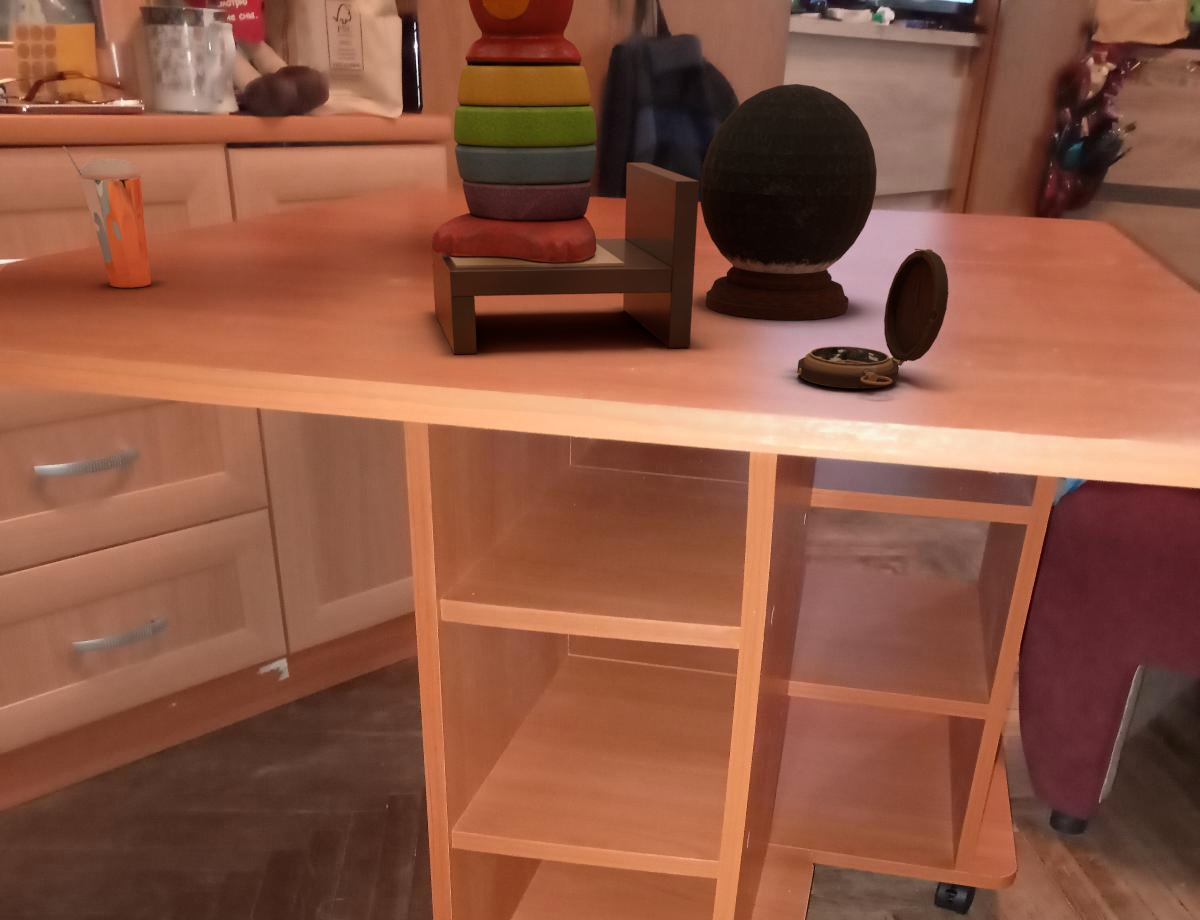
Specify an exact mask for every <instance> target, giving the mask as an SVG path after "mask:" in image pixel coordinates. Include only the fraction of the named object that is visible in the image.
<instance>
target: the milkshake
mask: <svg viewBox="0 0 1200 920" xmlns="http://www.w3.org/2000/svg"><path fill="white" fill-rule="evenodd" d="M62 148H63V150H64V151H65V153H66V155H67V156H68V158H69V159H70V161H71V163H72V164H73V166H74V169H75V170H76V171H77V174H78V177H79V181H80V185H81V187H82V191H83V194H84V197H85V201H86V204H87V208H88V211H89V213H90V216H91V219H92V223H93V225H94V229H95V233H96V237H97V240H98V243H99V247H100V252H101V254H102V255H101V256H102V258H103V262H104V266H105V269H106V270H105V271H106V274H107V277H108V281H109V285H110V286H111V287H112V288H113V287H114V288H118V289H119V288H120V289H121V288H122V289H126V288H127V289H131V288H133V289H134V288H142V287H143V288H144V287H147V286H150V285H152V279H151V269H150V261H149V254H148V244H147V235H146V226H145V213H144V200H143V188H142V178H141V172H140V170H139V168H138V167H137V166H136V165H135V164H134V163H132V162H131V161H130V160H127V159H124V158H113V157H108V158H102V157H96V158H94V159H93V160H90V161H87V162H85V163H83V164H82V166H80V168H79V167H78V166H77V164H76V162H75V161H74V159H73V157H72V156H71V153H70V152H69V150H68V148H67V147H66V146H64V145H63V146H62Z"/></svg>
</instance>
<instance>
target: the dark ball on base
mask: <svg viewBox="0 0 1200 920" xmlns="http://www.w3.org/2000/svg"><path fill="white" fill-rule="evenodd" d="M877 172H878V170H877V162H876V156H875V150H874V147H873V144H872V141H871V138H870V135H869V132H868V130H867V129H866V127H865V125H864V124H863V122H862V120H861V119H860V117H859V116H858V115H857V113H855V112H854V110H852V108H851V107H850V106H849V105H848V104H847V103H846V102H845V101H843V100H842V99H841V98H839V97H838V96H836V95H835V94H833V93H832V92H829V91H827V90H824V89H821V88H819V87H817V86H814V85H807V84H801V83H795V84H794V83H791V84H780V85H775V86H772V87H769V88H767V89H763V90H761V91H759V92H757V93H756V94H754V95H752V96H750V97H748V98H747V99H745V100H744V101H742V102H741V103H740V104H739V105H738V106H737V107H736V108H735V109H734V110H733V111H732V112H730V113H729V114H728V116H727V117H726V118H725V120H724V121H723V122H722V123H721V124H720V126H719V127H718V128H717V131H716V132H715V134H714V136H713V138H712V140H711V142H710V143H709V145H708V148H707V151H706V154H705V157H704V161H703V163H702V167H701V176H700V181H699V196H700V197H699V199H700V208H701V213H702V217H703V222H704V225H705V227H706V230H707V232H708V234H709V237H710V240H711V241H712V242H713V244H714V246H715V247H716V249H717V250H718V252H719V253H720V254H721V256H723V258H725V259H726V260H727V262H729V263H730V264H731V265H732V266H731V267H730V268H729V269H728V270H727V271H726V275H724V276H721V277H717V278H716V279H715V280H714V281H713V283H712V285H711V288H710V289H708V290H707V291H706V292H705V293H706V295H705V306H706V307H707V308H708V309H709V310H712V311H715V312H717V313H720V314H725V315H729V316H735V317H743V318H750V319H760V320H761V319H762V320H775V321H776V320H777V321H806V320H808V321H809V320H822V319H828V318H834V317H838V316H841V315H842V316H843V315H844V314H845V313H847V312H848V309H849V308H848V307H849V300H850V299H849V297H848V296H847V295H845V290H844V287H843V285H842V284H841V283H840V282H838V281H835V280H833V279H832V278H833V277H832V275H831V273H829V270H828V269H829V268H830V267H831V266H833V265H834V264H835V263H837V262H838V261H839V260H840V259H842V257H844V255H845V254H846V253H847V252H848V251H849V250H850V249H851V248H852V247H853V245H854V244H855V243H856V241H857V239H859V238H858V237H860V235H861V233H862V232H863V230H864V228H866V227H865V226H866V224H867V222H868V220H869V216H870V214H871V212H872V210H873V205H874V201H875V196H876V192H877V175H878V174H877Z"/></svg>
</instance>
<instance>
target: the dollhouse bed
mask: <svg viewBox="0 0 1200 920" xmlns="http://www.w3.org/2000/svg"><path fill="white" fill-rule="evenodd" d="M625 181H626V183H625V184H626V185H625V188H626V189H625V220H624V222H625V223H624V227H625V228H624V238H596V248H597V249H596V252H595V254H594V255H593V256H591V257H590V258H588V259H586V260H583V261H579V262H572V263H549V262H536V261H530V260H525V259H519V258H508V257H461V256H448V255H441V254H439V253H436V252H435V251H434V250H433V249H432V240H431V241H430V243H431V244H430V247H431V248H430V249H431V262H432V264H431V265H432V266H431V267H432V282H433V300H434V314H435V315H436V318H437V320H438V322H439V324H440V327H441V329H442V331H443V333H444V335H445V338H446V339H447V342H448V344H449V346H450V348H451V350H452V352H453V354H454V355H475V354H477V353H478V350H477V347H478V346H477V328H476V327H477V325H476V322H477V321H476V301H475V300H476V298H475V297H491V296H492V297H497V296H498V297H499V296H500V297H502V296H550V295H553V296H554V295H559V296H560V295H603V294H606V295H607V294H609V295H610V294H622V295H623V297H622V298H623V299H622V300H623V301H622V310H624V312H625V313H627V314H628V315H629V316H630V317H631V318H633V319H634V320H635V321H636V322H637V323H639V324H640V325H641V326H642V327H643V328H644V329H646V330H647V331H648V332H649V333H650V334H652V336H654V337H655V338H657V339H658V340H659V341H660V342H661V343H663V345H665V347H667V348H668V349H686V348H687V349H688V348H690V347H691V333H692V332H691V331H692V318H693V317H692V313H693V297H694V280H695V263H696V247H697V246H696V245H697V229H698V228H697V226H698V212H699V211H698V210H699V209H698V208H699V195H700V181H699V180H697V179H693V178H691V177H688V176H685V175H682V174H679V173H676V172H674V171H671V170H668V169H665V168H663V167H660V166H657V165H653V164H651V163H648V162H626V179H625Z"/></svg>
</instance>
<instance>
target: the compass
mask: <svg viewBox="0 0 1200 920" xmlns="http://www.w3.org/2000/svg"><path fill="white" fill-rule="evenodd" d="M948 298H949V277H948V272H947V268H946V264H945V263H944V260H943V259H942V257H941V256H940V255H939V254H938V253H936V252H935V251H934V250H933V249H931V248H926V249H922V248H914V251H913V252H912V253H910V254H909V255H907V256H906V258H904V260H903V261H902V263H901V264H900V265H899V267H898V269H897V271H896V273H895V274H894V277H893V278H892V282H891V284H890V287H889V289H888V294H887V299H886V303H885V309H884V318H883V326H884V327H883V328H884V338H885V343H886V346H887V349H888V352H889V353H890V355H891V356H892V357H889V355H888V354H887V353H885V352H884V351H880V350H876V349H871V348H866V347H859V346H858V347H857V346H841V345H840V346H822V347H817V348H814V349H812V350H811V351H810V352H808V353H807V354H806V355H805V356H803V357H802V358H800V359H799V360H798V362H797V370H796V373H797V374H798V375H799V376H800V377H801V379H802V380H805V381H807V382H809V383H813V384H816V385H821V386H825V387H831V388H841V389H857V390H859V389H877V388H883V387H886V386H890V385H891V384H893V383H894V382H896V381H897V380H898V379H899V372H900V367H901V366H903V364H904V363H905V362H908V361H910V362H915V361H917V360H920V359H922V358H923V356H925V355H926V354H927V353H928V352H929V350H930V349H931V348H932V346H933V344H934V343H935V341H936V340H937V338H938V336H939V333H940V331H941V329H942V326H943V324H944V320H945V317H946V312H947V309H948V300H949V299H948Z"/></svg>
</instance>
